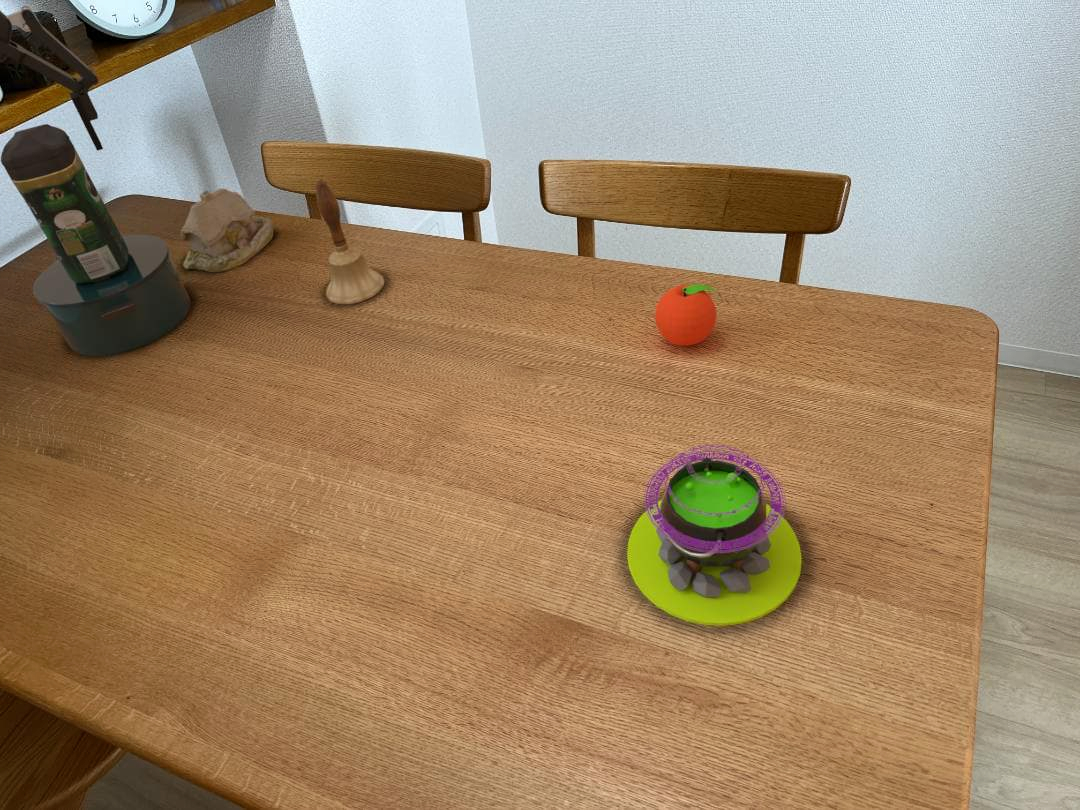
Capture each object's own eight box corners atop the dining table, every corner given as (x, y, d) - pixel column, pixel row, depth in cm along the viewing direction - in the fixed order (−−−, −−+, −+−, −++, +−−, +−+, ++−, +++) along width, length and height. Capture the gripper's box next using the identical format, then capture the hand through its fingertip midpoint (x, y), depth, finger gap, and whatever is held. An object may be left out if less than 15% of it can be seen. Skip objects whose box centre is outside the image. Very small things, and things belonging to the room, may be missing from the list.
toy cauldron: (623, 495, 78) (615, 409, 70) (783, 484, 76) (791, 395, 69) (631, 630, 66) (623, 544, 59) (819, 621, 65) (834, 532, 57)
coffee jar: (71, 260, 112) (-4, 130, 100) (130, 243, 113) (63, 113, 101) (69, 293, 105) (-12, 156, 93) (132, 274, 106) (60, 138, 94)
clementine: (707, 314, 98) (707, 263, 93) (735, 344, 93) (737, 292, 88) (646, 332, 97) (643, 282, 92) (671, 364, 92) (670, 312, 87)
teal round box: (73, 380, 105) (38, 326, 99) (59, 311, 119) (28, 260, 113) (206, 328, 110) (180, 274, 105) (178, 268, 125) (154, 218, 119)
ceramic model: (218, 280, 120) (191, 219, 114) (172, 265, 125) (143, 207, 119) (287, 235, 128) (265, 176, 122) (241, 223, 134) (218, 166, 127)
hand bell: (314, 296, 113) (275, 191, 103) (355, 267, 118) (322, 164, 107) (355, 310, 109) (319, 202, 98) (396, 279, 113) (366, 173, 103)
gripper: (-202, 10, 79) (-70, 207, 93) (64, -49, 87) (149, 141, 101) (-192, -3, 84) (-69, 186, 98) (58, -57, 92) (139, 125, 106)
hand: (42, 163), depth 99 cm, fingers open, 13 cm apart
